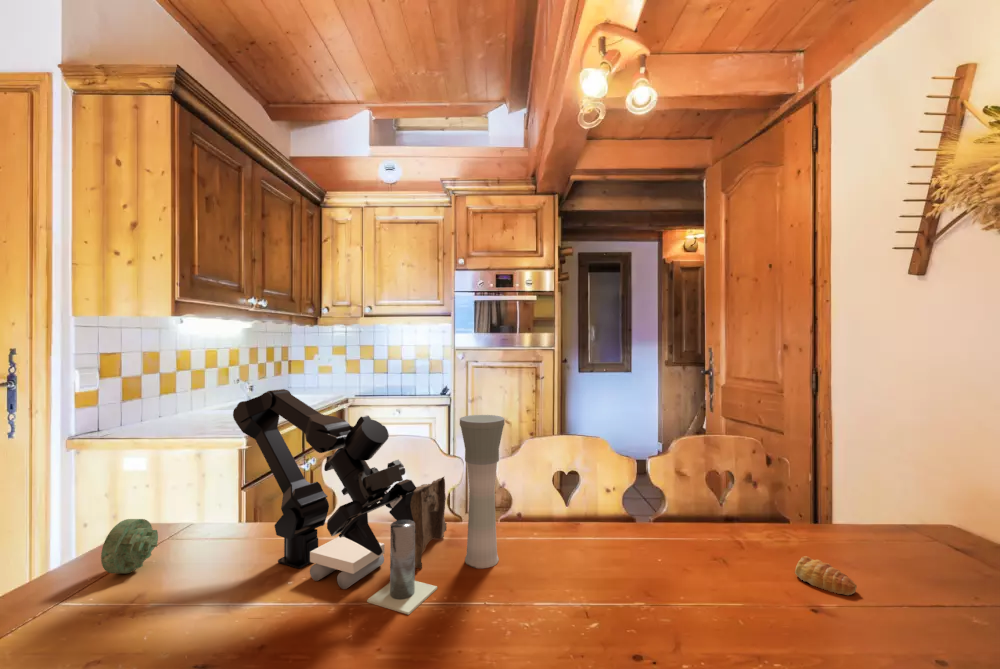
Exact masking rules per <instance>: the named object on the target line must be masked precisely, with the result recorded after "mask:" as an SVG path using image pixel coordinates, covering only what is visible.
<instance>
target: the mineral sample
mask: <svg viewBox="0 0 1000 669" xmlns="http://www.w3.org/2000/svg"><path fill="white" fill-rule="evenodd" d="M446 496H447V495H446V480H445V476H443V477H441V478H437V479H436V480H433V481H432V482H431V483H424V484H423V483H422V484H421V485H420V486H419V485H418V486H416V489H415V490H414V495H413V496H412V498H411V503H410V505H411V512H412V516H413V521H414V522H415V529H416V534H415V569H416V568H418V569H423V562H422V556H423V553H424V551H425V550H426V548H427V545H428V544H429V542H430V541H432V540H433V539H442V538H443V537H445V532H447V527H448V526H447V525H448V524H447V522H446V520H445V512H446V510H445V509H446V501H447V497H446Z"/></svg>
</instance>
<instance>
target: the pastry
mask: <svg viewBox="0 0 1000 669" xmlns="http://www.w3.org/2000/svg"><path fill="white" fill-rule="evenodd" d="M794 573H795V575H796V576H797V577H798V578H799V579H800V581H802V580H803V582H807V583H809V584H810V586H813V587H815V586H816V587H815V588H817V587H818V588H819V589H821V590H823V589H824V591H827V590H828V591H827V592H830V593H833V592H834V593H833V594H836V593H837V594H838V595H844V596H851V595H853V594H855V593H856V590H857V586H858V585H857V584H856V582H854V580H852V579H851V578H850V577H849V576H848V575H847V574H846V573H844V572H842V571H841V570H840V569H838V568H835V567H833V566H832V565H831V564H830V563H827V562H824V561H822V560H821V559H813V558H811V557H810V556H807V555H805V556H801V558H800V560H798V562H797V564H796V566H795V571H794ZM837 594H836V595H837Z"/></svg>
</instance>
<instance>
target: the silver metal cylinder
mask: <svg viewBox="0 0 1000 669" xmlns="http://www.w3.org/2000/svg"><path fill="white" fill-rule="evenodd" d="M389 547H390V549H389V550H390V551H389V552H390V558H389V560H390V562H389V563H390V565H389V566H390V567H389V568H390V569H389V571H390V572H389V573H390V574H389V575H390V576H389V580H390V581H389V583H390V596H391V597H392V598H394V599H398V600H402V599H407V598H409V597H411V596H413V594H414V593H415V581H416V577H415V576H416V574H415V573H416V572H415V571H416V567H415V522H414V521H412V520H398V521H397V520H395V521H393V522H392V523H391V524H390V546H389Z"/></svg>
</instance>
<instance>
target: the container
mask: <svg viewBox="0 0 1000 669" xmlns="http://www.w3.org/2000/svg"><path fill="white" fill-rule="evenodd" d="M459 426H460V429H461V433H462V434H461V435H462V440H463V444H464V449H465V452H464V462H465V463H466V464H467V477H468V478H467V479H468V487H469V488H468V489H469V492H468V497H469V498H468V520H467V521H468V522H467V540H466V554H465V555H466V556H465V557H464V561H465V562H464V563H465V564H466V565H467V566H468V567H470V568H474V569H489V568H492V567H494V566H497V564H498V563H499V555H498V544H497V543H498V542H497V524H496V523H497V522H496V498H495V497H496V496H495V495H496V494H495V487H496V480H497V479H496V478H497V467H498V462H499V461H500V445H501V439H502V437H503V436H502V435H503V430H504V426H505V417H503V416H500V415H495V414H494V415H493V414H472V415H464V416H461V417H460V418H459Z"/></svg>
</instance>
